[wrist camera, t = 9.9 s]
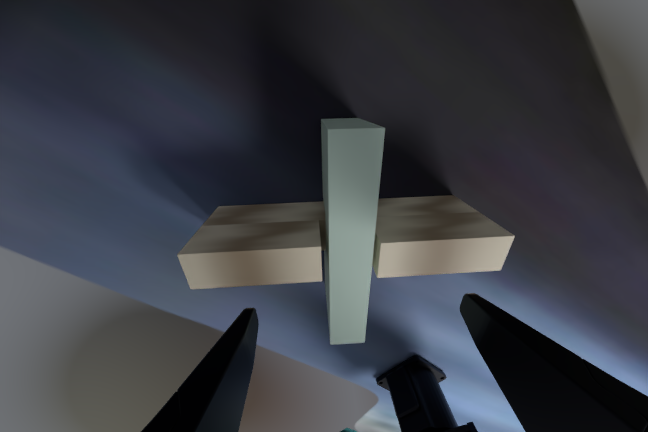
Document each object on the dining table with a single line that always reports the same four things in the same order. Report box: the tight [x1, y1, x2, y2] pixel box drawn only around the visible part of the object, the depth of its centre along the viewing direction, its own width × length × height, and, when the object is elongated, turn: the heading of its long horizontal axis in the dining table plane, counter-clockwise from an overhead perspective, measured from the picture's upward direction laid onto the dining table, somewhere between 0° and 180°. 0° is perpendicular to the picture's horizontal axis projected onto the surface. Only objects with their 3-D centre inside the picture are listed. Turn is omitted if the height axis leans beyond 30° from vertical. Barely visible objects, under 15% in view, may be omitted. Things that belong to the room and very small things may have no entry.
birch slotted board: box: [177, 195, 515, 289], centre depth 15 cm, size 18×2×6 cm, turn 91°
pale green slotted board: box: [321, 118, 385, 345], centre depth 15 cm, size 14×2×6 cm, turn 1°
